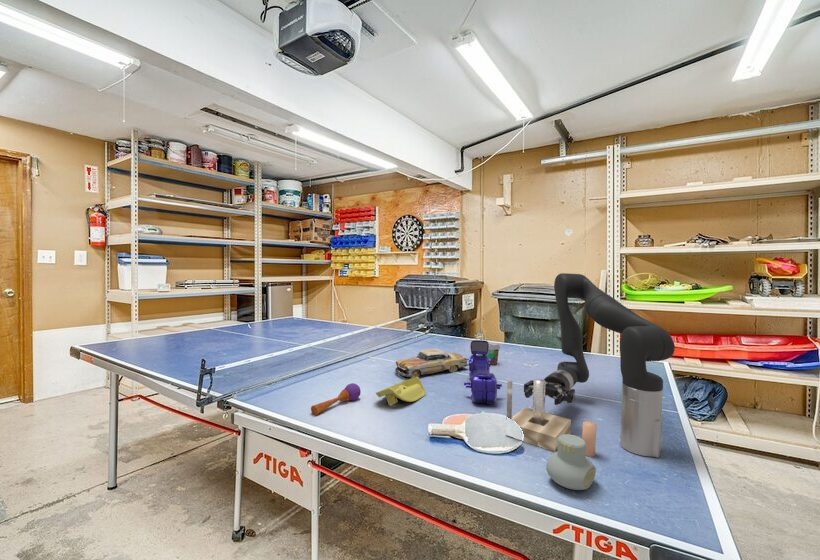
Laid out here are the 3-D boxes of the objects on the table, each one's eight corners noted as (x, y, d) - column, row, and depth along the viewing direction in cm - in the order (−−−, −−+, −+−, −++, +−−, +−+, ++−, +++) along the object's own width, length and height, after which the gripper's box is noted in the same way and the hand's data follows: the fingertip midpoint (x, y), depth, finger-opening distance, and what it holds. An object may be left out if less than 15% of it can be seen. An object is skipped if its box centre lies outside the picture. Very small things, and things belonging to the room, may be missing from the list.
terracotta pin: (596, 452, 97) (597, 423, 96) (593, 458, 94) (595, 428, 94) (583, 448, 99) (584, 420, 98) (580, 454, 96) (581, 424, 95)
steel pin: (545, 433, 107) (547, 380, 106) (541, 437, 105) (543, 383, 104) (534, 430, 109) (536, 377, 108) (530, 434, 107) (532, 380, 106)
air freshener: (563, 465, 91) (564, 426, 90) (598, 480, 85) (599, 438, 84) (541, 483, 83) (543, 441, 83) (578, 501, 77) (580, 455, 77)
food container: (471, 362, 180) (471, 342, 180) (477, 360, 185) (478, 340, 184) (493, 367, 172) (493, 346, 171) (499, 365, 176) (500, 344, 176)
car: (391, 373, 163) (391, 351, 163) (454, 363, 179) (455, 343, 179) (404, 381, 152) (404, 358, 152) (470, 370, 168) (470, 349, 168)
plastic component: (399, 382, 144) (420, 375, 140) (406, 401, 142) (427, 394, 138) (370, 395, 127) (392, 386, 122) (377, 416, 125) (400, 408, 121)
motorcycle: (462, 375, 161) (462, 336, 160) (493, 376, 160) (494, 337, 159) (464, 407, 127) (465, 357, 126) (504, 409, 125) (505, 358, 124)
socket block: (570, 432, 108) (572, 379, 107) (554, 452, 97) (556, 392, 96) (524, 419, 117) (525, 370, 116) (505, 435, 106) (506, 381, 105)
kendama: (306, 401, 121) (351, 380, 137) (310, 418, 121) (354, 396, 137) (318, 402, 117) (362, 381, 133) (321, 420, 117) (365, 397, 133)
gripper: (536, 368, 124) (517, 380, 111) (582, 376, 115) (566, 391, 102) (536, 389, 124) (517, 404, 112) (581, 400, 115) (565, 417, 103)
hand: (540, 398), depth 107 cm, fingers open, 8 cm apart
